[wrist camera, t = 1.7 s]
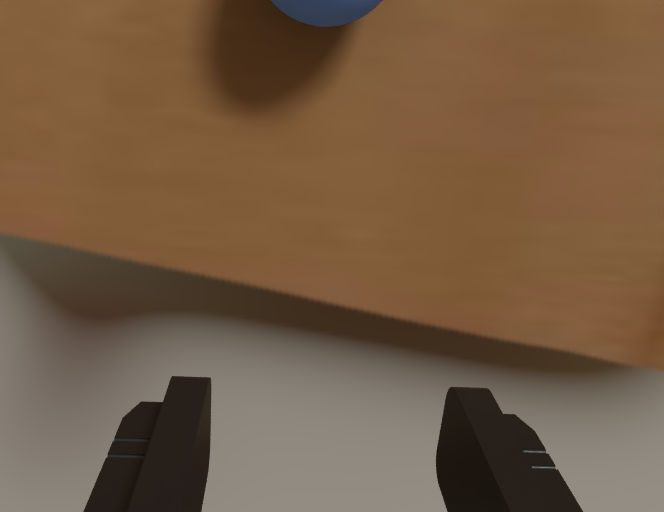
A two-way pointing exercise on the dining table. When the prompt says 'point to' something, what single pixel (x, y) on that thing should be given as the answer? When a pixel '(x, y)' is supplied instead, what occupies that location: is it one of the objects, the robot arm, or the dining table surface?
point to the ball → (326, 10)
